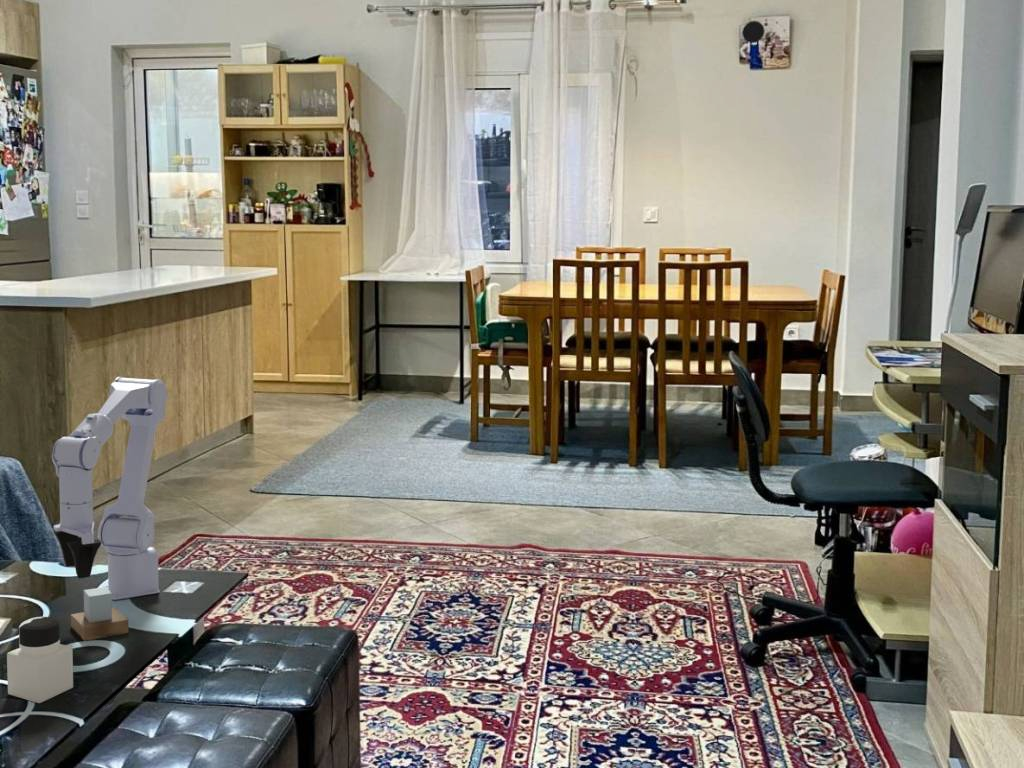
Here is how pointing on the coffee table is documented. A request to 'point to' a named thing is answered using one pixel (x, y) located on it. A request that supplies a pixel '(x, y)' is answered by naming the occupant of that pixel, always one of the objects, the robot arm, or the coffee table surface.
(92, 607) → the cube
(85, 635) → the base slab
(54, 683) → the medicine bottle
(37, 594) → the coffee table surface
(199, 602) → the coffee table surface
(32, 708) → the coffee table surface
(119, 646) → the coffee table surface
